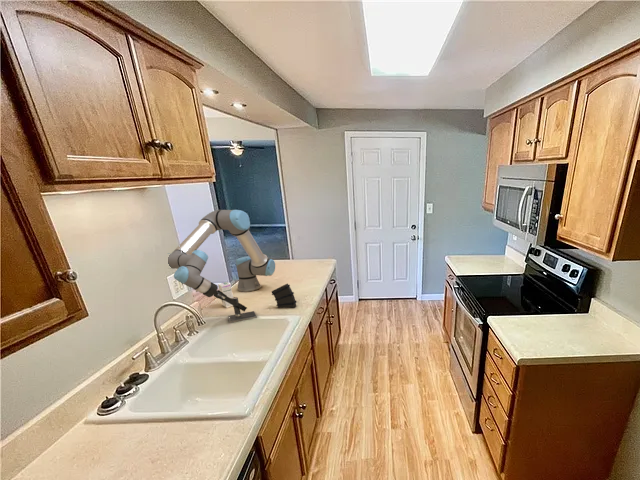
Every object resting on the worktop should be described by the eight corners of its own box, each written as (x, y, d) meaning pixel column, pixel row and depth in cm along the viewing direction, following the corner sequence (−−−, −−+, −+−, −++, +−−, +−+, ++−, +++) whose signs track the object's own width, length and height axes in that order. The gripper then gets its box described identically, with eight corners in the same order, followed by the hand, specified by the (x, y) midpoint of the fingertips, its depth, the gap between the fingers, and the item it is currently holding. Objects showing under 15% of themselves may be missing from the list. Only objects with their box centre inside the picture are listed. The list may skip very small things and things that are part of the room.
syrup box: (235, 305, 206) (231, 283, 201) (225, 308, 202) (221, 285, 197) (231, 303, 210) (227, 281, 205) (222, 305, 206) (217, 283, 201)
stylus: (235, 315, 188) (231, 297, 184) (240, 314, 189) (237, 296, 185) (235, 317, 185) (232, 299, 181) (241, 316, 187) (238, 298, 183)
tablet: (228, 317, 189) (227, 315, 188) (254, 312, 195) (253, 310, 195) (229, 323, 182) (229, 321, 181) (256, 317, 188) (256, 315, 188)
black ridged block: (299, 305, 201) (286, 284, 196) (281, 314, 203) (267, 293, 199) (301, 303, 205) (288, 282, 200) (283, 311, 207) (270, 291, 202)
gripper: (197, 290, 176) (234, 310, 193) (207, 297, 165) (246, 318, 182) (206, 278, 178) (242, 299, 195) (216, 285, 167) (254, 306, 184)
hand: (244, 308), depth 188 cm, fingers closed on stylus, 3 cm apart
